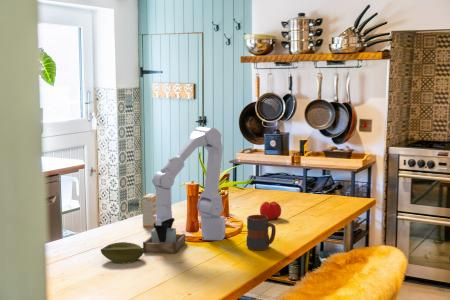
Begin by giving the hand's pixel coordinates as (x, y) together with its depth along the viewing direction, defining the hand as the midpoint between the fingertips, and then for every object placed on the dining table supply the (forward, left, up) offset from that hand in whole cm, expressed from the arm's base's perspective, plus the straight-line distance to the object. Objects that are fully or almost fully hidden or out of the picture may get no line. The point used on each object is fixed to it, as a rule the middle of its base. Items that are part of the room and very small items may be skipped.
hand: (164, 239), depth 223 cm
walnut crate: (0, 0, -3) cm, 3 cm away
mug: (-36, -5, -3) cm, 37 cm away
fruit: (+10, +17, -3) cm, 20 cm away
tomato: (-34, -50, -3) cm, 61 cm away
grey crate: (0, 0, -2) cm, 2 cm away
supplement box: (+16, -32, -3) cm, 36 cm away
